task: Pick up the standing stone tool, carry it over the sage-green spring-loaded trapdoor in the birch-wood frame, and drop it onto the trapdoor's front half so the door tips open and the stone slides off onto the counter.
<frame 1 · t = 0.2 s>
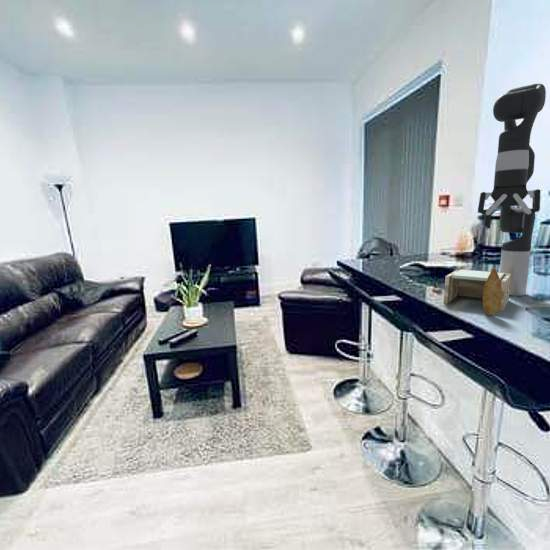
hand: (505, 228, 95), 28 cm above the worktop, tool pointing down, fingers open, 8 cm apart
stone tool: (490, 316, 106), on the worktop
trapdoor: (478, 275, 120), point 10 cm above the worktop, hinge at 0.0°
trapdoor frame: (475, 302, 121), on the worktop
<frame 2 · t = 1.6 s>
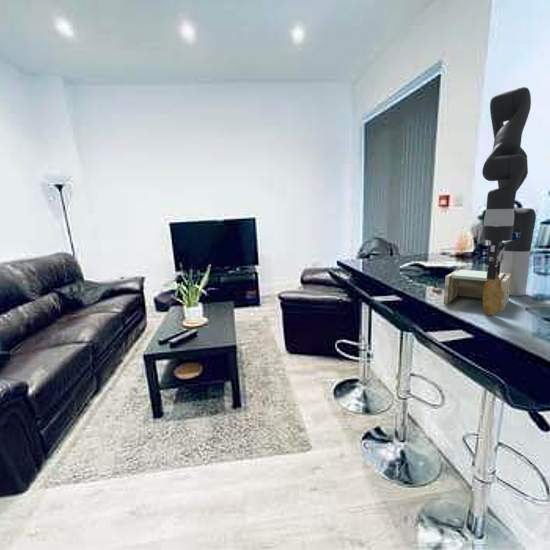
hand: (493, 277, 104), 12 cm above the worktop, tool pointing down, fingers open, 8 cm apart
nothing on the worktop moved.
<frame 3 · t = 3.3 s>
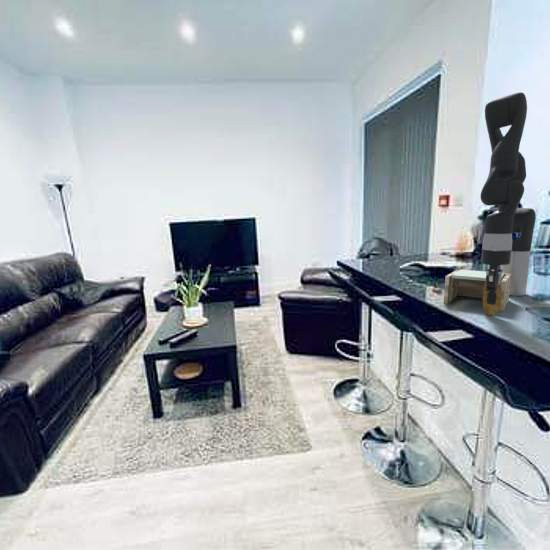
hand: (491, 303, 105), 4 cm above the worktop, tool pointing down, fingers closed on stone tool, 2 cm apart
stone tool: (490, 316, 106), on the worktop, touching gripper
everything else where it was.
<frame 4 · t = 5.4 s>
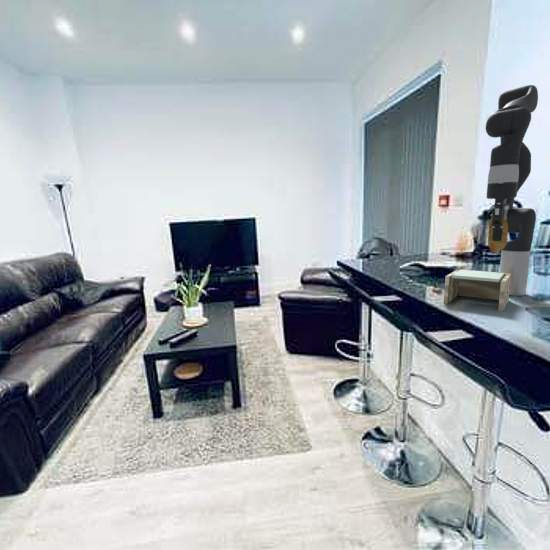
hand: (497, 240, 102), 24 cm above the worktop, tool pointing down, fingers closed on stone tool
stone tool: (496, 254, 103), point 20 cm above the worktop, touching gripper
everything else where it was.
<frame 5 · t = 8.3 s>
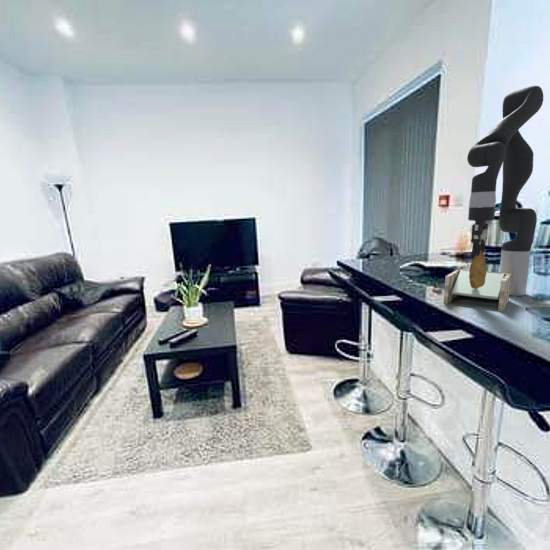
hand: (478, 254, 115), 18 cm above the worktop, tool pointing down, fingers open, 8 cm apart
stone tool: (475, 289, 118), point 5 cm above the worktop, touching trapdoor
trapdoor: (478, 283, 121), point 7 cm above the worktop, hinge at -26.6°, touching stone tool
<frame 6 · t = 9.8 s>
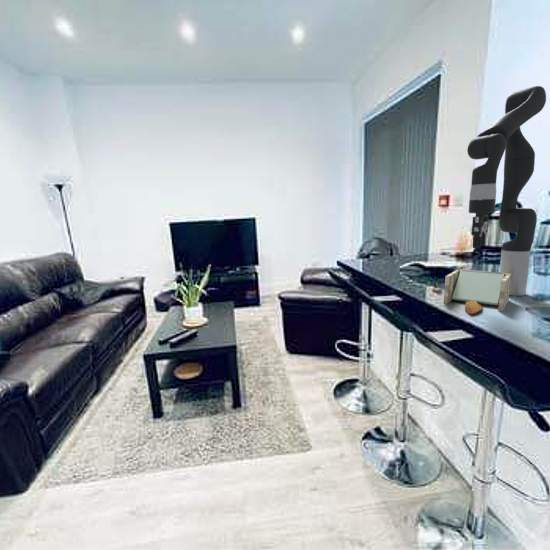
hand: (478, 246, 115), 21 cm above the worktop, tool pointing down, fingers open, 8 cm apart
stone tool: (474, 301, 118), point 1 cm above the worktop, touching trapdoor
trapdoor: (478, 285, 122), point 6 cm above the worktop, hinge at -38.3°, touching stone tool
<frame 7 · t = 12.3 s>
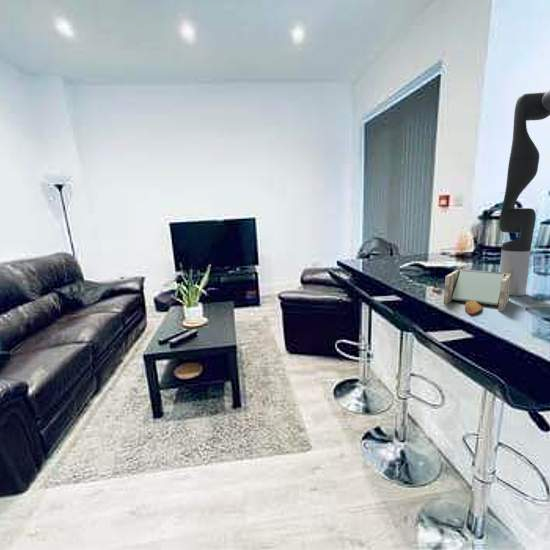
nothing on the worktop moved.
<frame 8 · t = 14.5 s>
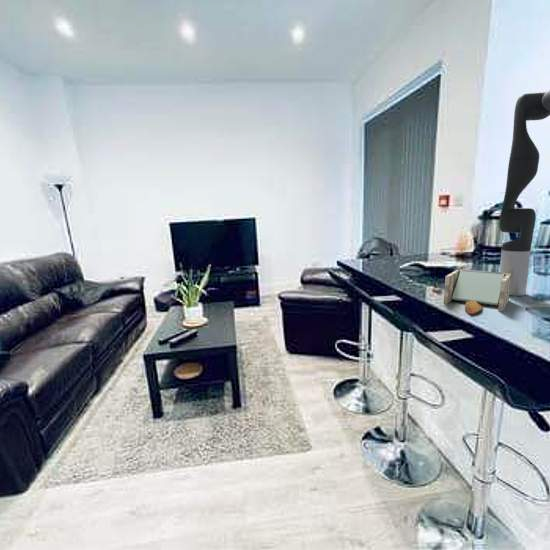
nothing on the worktop moved.
at the end: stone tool inside the target area on the trapdoor frame (4.6 cm from its centre), point 1.3 cm above the trapdoor frame's base; the gripper is holding nothing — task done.
